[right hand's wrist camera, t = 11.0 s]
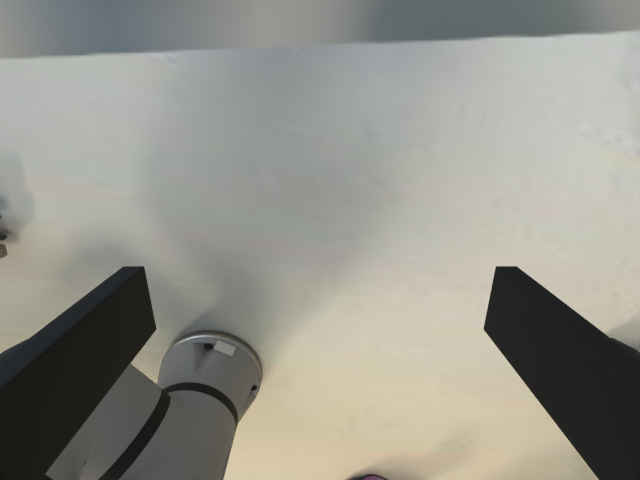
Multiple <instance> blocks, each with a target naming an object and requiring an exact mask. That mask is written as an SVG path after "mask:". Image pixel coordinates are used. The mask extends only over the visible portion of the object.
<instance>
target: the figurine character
mask: <svg viewBox="0 0 640 480" xmlns="http://www.w3.org/2000/svg"><path fill="white" fill-rule="evenodd" d="M0 218H1V217H0ZM6 238H7V236H5V235H4V234H0V240H5V239H6ZM6 255H7V250H6V247H5V245H4V244H0V258H2V257H5V256H6Z"/></svg>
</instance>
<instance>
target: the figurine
mask: <svg viewBox="0 0 640 480" xmlns="http://www.w3.org/2000/svg"><path fill="white" fill-rule="evenodd" d="M360 480H384V479H382V478H379V477H377V476H368V477H365V478H363V479H360Z"/></svg>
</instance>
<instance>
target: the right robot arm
mask: <svg viewBox="0 0 640 480" xmlns="http://www.w3.org/2000/svg"><path fill="white" fill-rule="evenodd" d="M155 330H156V325H155V320H154V315H153V310H152V305H151V300H150V295H149V289H148V284H147V279H146V274H145V269H144V267H122V268H121V269H120V270H118V271H117V272H116V273H114V274H113V275H112V276H110V277H109V278H108V279H106V280H105V281H104V282H103V283H101V284H100V285H99V286H97V287H96V288H95V289H93V290H92V291H91V292H89V293H88V294H87V295H86V296H84V297H83V298H82V299H80V300H79V301H78V302H76V303H75V304H74V305H73V306H71V307H70V308H69V309H67V310H66V311H65V312H63V313H62V314H61V315H59V316H58V317H57V318H56V319H54V320H53V321H52V322H50V323H49V324H48V325H46V326H45V327H44V328H42V329H41V330H40V331H39V332H37V333H36V334H35V335H33V336H32V337H31V338H29V339H27V340H25V341H23V342H21V343H19V344H17V345H15V346H13V347H11V348H10V349H8V350H6V351H4V352H3V353H1V354H0V480H223V478H224V474H225V471H226V467H227V463H228V459H229V455H230V451H231V448H232V444H233V440H234V436H235V432H236V428H237V425H238V422H239V421H240V420H241V418H242V417H243V415H244V414H245V412H246V411H247V410H248V408H249V407H250V405H251V404H252V402H253V401H254V399H255V398H256V396H257V394H258V391H259V388H260V383H261V378H262V369H261V365H260V362H259V360H258V358H257V356H256V354H255V353H254V352H253V350H252V349H251V348H250V347H249V346H248V345H247V344H245V343H244V342H243V341H241V340H240V339H238V338H236V337H234V336H232V335H229V334H226V333H222V332H217V331H198V332H194V333H190V334H188V335H185V336H183V337H181V338H180V339H178V340H177V341H176V342H175V343H174V344H173V345H172V346H171V347H170V349H169V350H168V352H167V353H166V355H165V357H164V358H163V361H162V364H161V367H160V371H159V378H158V383H157V384H156V383H154V382H153V381H152V380H150V379H149V378H148V377H147V376H145V375H144V374H143V373H142V372H140V371H139V370H138V369H136V368H135V367H134V366H133V365H132V364H130V363H131V362H132V360H133V359H134V358H135V356H136V355H137V354H138V352H139V351H140V350H141V349H142V347H143V346H144V345H145V343H146V342H147V341H148V339H149V338H150V337H151V335H152V334H153V333H154V332H155ZM484 330H485V332H486V333H487V334H488V335H489V337H490V338H491V339H492V341H493V342H494V343H495V345H496V346H497V347H498V349H499V350H500V351H501V352H502V354H503V355H504V356H505V358H506V359H507V360H508V362H509V363H510V364H511V365H512V367H513V368H514V369H515V371H516V372H517V373H518V375H519V376H520V377H521V378H522V380H523V381H524V382H525V384H526V385H527V386H528V388H529V389H530V390H531V392H532V393H533V394H534V395H535V397H536V398H537V399H538V401H539V402H540V403H541V405H542V406H543V407H544V408H545V410H546V411H547V412H548V414H549V415H550V416H551V418H552V419H553V420H554V421H555V423H556V424H557V425H558V427H559V428H560V429H561V431H562V432H563V433H564V435H565V436H566V437H567V438H568V440H569V441H570V442H571V444H572V445H573V446H574V448H575V449H576V450H577V451H578V453H579V454H580V455H581V457H582V458H583V459H584V461H585V462H586V463H587V464H588V466H589V467H590V468H591V470H592V471H593V472H594V474H595V475H596V476H597V478H598V479H599V480H640V352H638V351H637V350H635V349H633V348H631V347H629V346H627V345H626V344H624V343H622V342H620V341H618V340H616V339H614V338H609V337H608V336H607V335H605V334H604V333H603V332H601V331H600V330H599V329H598V328H596V327H595V326H594V325H592V324H591V323H590V322H588V321H587V320H586V319H584V318H583V317H582V316H581V315H579V314H578V313H577V312H575V311H574V310H573V309H571V308H570V307H569V306H567V305H566V304H565V303H564V302H562V301H561V300H560V299H558V298H557V297H556V296H554V295H553V294H552V293H551V292H549V291H548V290H547V289H545V288H544V287H543V286H541V285H540V284H539V283H537V282H536V281H535V280H534V279H532V278H531V277H530V276H528V275H527V274H526V273H524V272H523V271H522V270H520V269H519V268H518V267H496V269H495V274H494V279H493V284H492V289H491V295H490V300H489V305H488V310H487V315H486V320H485V325H484Z"/></svg>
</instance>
